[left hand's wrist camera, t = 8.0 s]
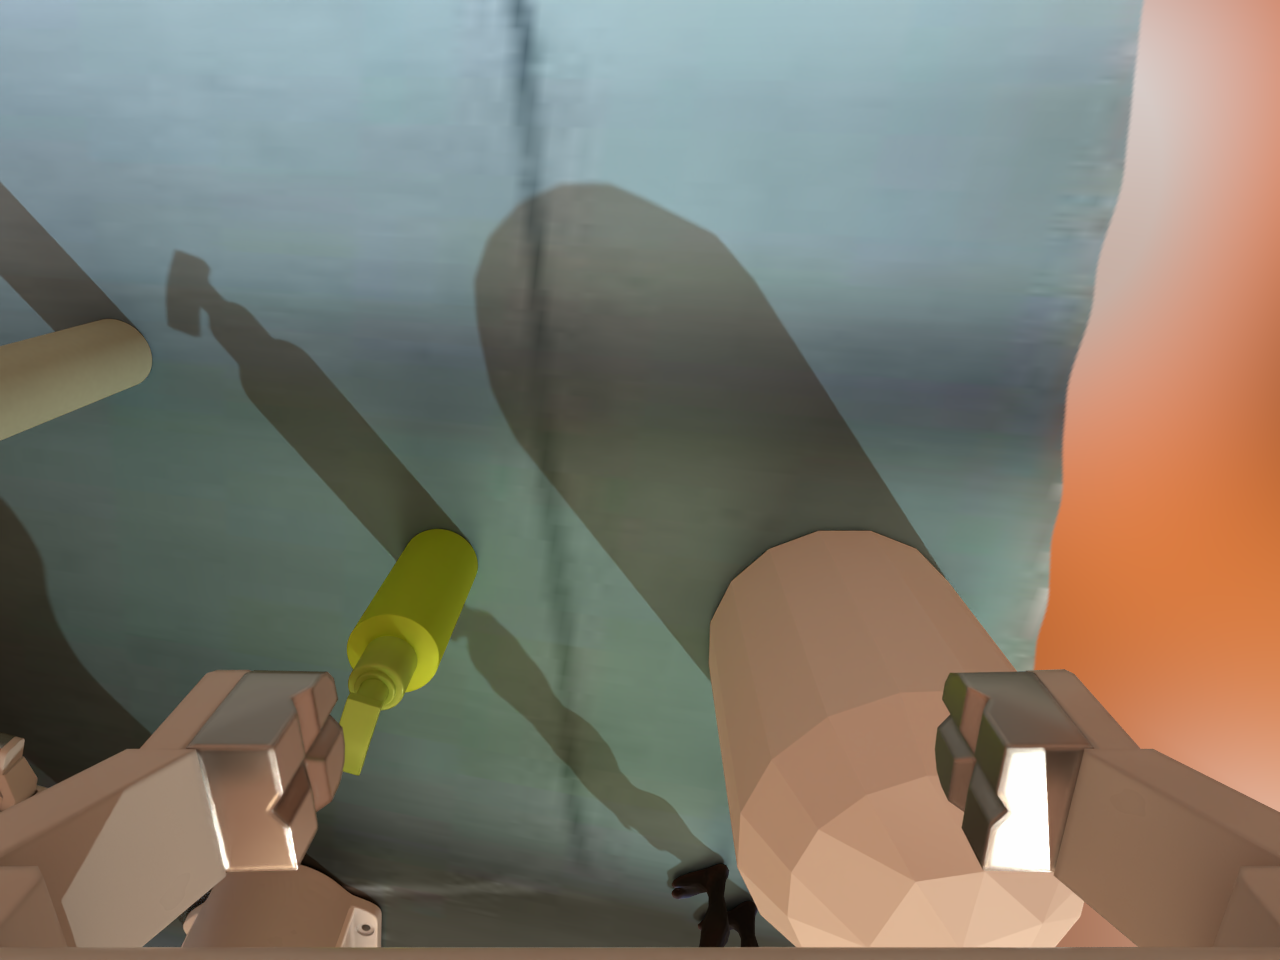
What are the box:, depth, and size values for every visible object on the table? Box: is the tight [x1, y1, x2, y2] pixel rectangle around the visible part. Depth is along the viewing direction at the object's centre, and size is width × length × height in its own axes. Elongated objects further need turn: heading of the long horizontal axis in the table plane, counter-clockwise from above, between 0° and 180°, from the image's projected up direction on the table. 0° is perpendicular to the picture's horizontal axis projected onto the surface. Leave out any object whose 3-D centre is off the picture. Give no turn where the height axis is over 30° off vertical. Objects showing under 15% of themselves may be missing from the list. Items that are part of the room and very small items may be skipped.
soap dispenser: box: [339, 529, 478, 775], centre depth 54 cm, size 6×7×20 cm
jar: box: [0, 319, 152, 440], centre depth 49 cm, size 5×5×19 cm
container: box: [709, 531, 1084, 947], centre depth 53 cm, size 21×21×28 cm
